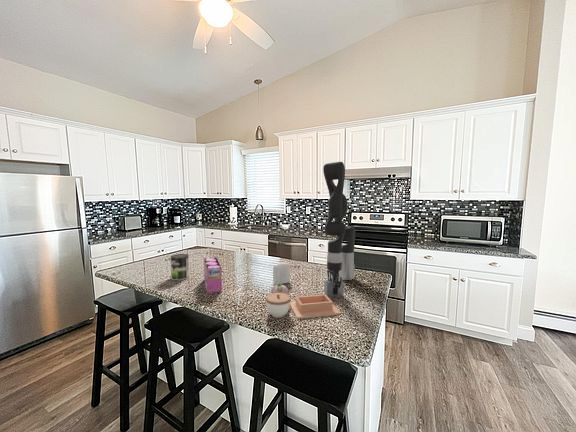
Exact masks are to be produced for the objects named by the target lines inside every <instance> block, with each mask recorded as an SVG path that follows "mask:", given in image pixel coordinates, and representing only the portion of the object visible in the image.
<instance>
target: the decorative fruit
mask: <svg viewBox="0 0 576 432" xmlns="http://www.w3.org/2000/svg"><path fill="white" fill-rule="evenodd" d="M289 291H290V290H289V289H288V288H287V286H286V285H284V284H280V283H279V284H277V285H274V286H273V287H271V290H270V294H272V293H285V294H288V295H289V296H290V292H289Z"/></svg>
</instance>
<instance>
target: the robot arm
mask: <svg viewBox="0 0 576 432" xmlns="http://www.w3.org/2000/svg"><path fill="white" fill-rule="evenodd" d="M322 170H323V175H324V180H325V184H326V186H327V189H328V195H329V199H328V203H327V204H328V205H327V209H328V211H327V213H328V214H327V218H326V223H325V226H324V233H325V235H326V236H329V237H330V236H333V237H336V238H334V239H330V240H329V241H328V242H327V254H326V255H327V256H326V257H327V258H326V273H327V280H332V283H333V294H334V295H337V294H338V288H340V286H341V280H342V281H345V280H350V281H353V280H355V272H356V271H355V267H356V265H355V262H354V258H355V257H354V256H355V255H354V254H355V239H356V228H355V226H351V225H346V224H345V223H344V222H343V220H344V218H345V216H346V215H347V213H348V211H349V205H348V199H347V196H346V195H345V194H344V189H345V188H344V187H345V179H346V168H345V164H344V162H343V161H336V162H335V161H334V162H329V163H328V162H327V163H324V164H323V169H322ZM335 180H336V181H337V185H336V184H335V182H334V181H335ZM333 220H334V221H333ZM343 241H345V242H347V243H346V244H344V245H343ZM352 279H353V280H352Z"/></svg>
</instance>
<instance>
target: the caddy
mask: <svg viewBox="0 0 576 432" xmlns="http://www.w3.org/2000/svg"><path fill="white" fill-rule="evenodd" d="M289 308H290V309H291V310H292V313H293V315H294V316H295V318H296V320H300V319H310V318H311V319H312V318H321V317H329V316H339V315H341V314H342V312H341V311H340V310H339V309H338V308H337V306H335V304H334V302H333V301H332V300H331V298H328V297H327V295H326V294H324V293H323V294H314V295H303V296H295V300H292V301H291V300H290V307H289Z"/></svg>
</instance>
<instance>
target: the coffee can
mask: <svg viewBox="0 0 576 432" xmlns="http://www.w3.org/2000/svg"><path fill="white" fill-rule="evenodd" d="M189 257H190V256H189V254H188V253H178V254H177V253H176V254H173V255H171V256H170V274H171V275H170V276H171V278H170V279H171V280H172V281H175V280H179V281H184V279H185V280H187V279H189V278H190V276H189V275H190V274H189V272H190V270H189V262H190V261H189Z"/></svg>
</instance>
